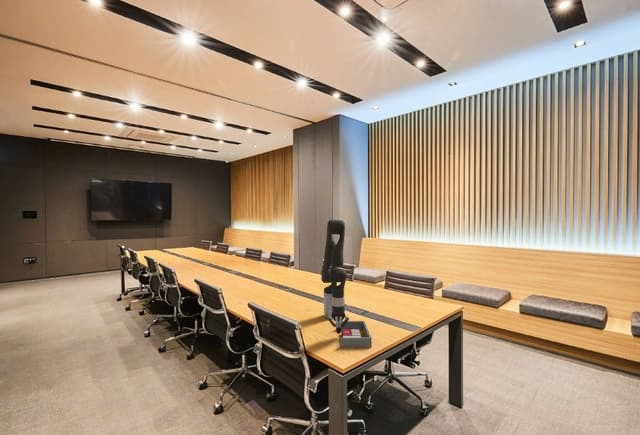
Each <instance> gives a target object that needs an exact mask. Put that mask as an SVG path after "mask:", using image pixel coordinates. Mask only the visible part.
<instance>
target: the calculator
mask: <svg viewBox="0 0 640 435" xmlns="http://www.w3.org/2000/svg"><path fill="white" fill-rule="evenodd" d="M357 337H362V334H361V329H351V330H350V329H342V330H341V338H357Z"/></svg>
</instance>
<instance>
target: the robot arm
mask: <svg viewBox="0 0 640 435" xmlns="http://www.w3.org/2000/svg"><path fill="white" fill-rule="evenodd" d="M333 235H336V236H337V235H339V238H338V241H337V242H335V240H334V238H333ZM345 235H346V223H345V221H344V220H341V219H329V220H328V221H327V224H326V239H325V240H326V241H325V247H324V248H325V249H324V254H323V257H324V258H323V265H322V270H321V276H320V278H321V282H322V283H323V284H329V285H328V286H325V287H324V288H323V317H324V318H325V319H327V320H328V322H329V323H330V324H331V326H332V327H334V328H335V332H336V334H338V335H340V334H342V330H341V327H344V325H345V324H346V323H347V322H348V321H350V317H349V316H347V315H346V311H345V310H346V309H345V307H346V304H345V302H346V301H345V286H346V282H347V278H348V274H347V272H346V271H345V270H344V269H341V270H340V269H337V268H342V267H343V266H344V245H345V237H346V236H345ZM336 269H337V270H336ZM338 283H339V285H338ZM341 321H343V323H342V324H341ZM338 322H339V327H338Z"/></svg>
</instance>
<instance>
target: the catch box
mask: <svg viewBox="0 0 640 435" xmlns="http://www.w3.org/2000/svg"><path fill="white" fill-rule="evenodd" d="M343 321H344V320H343ZM343 321H341V324H342V323H343ZM338 327H339V322H338ZM342 329H350V330H351V329H358V330H363V333H364V336H365V337H362V336H361V337H357V338H342V337H339V343H340V344H339V346H340V347H339V348H341V349H342V348H347V349H348V348H372V344H373V342H372V336H371V334H370V330H369V329H368V327H367V324H366V321H365V320H348V322H347V323H346V324H345V325H344V327H341V331H342Z"/></svg>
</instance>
